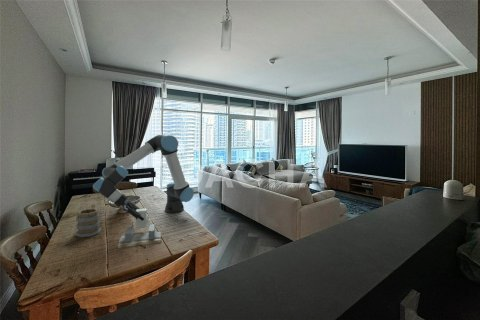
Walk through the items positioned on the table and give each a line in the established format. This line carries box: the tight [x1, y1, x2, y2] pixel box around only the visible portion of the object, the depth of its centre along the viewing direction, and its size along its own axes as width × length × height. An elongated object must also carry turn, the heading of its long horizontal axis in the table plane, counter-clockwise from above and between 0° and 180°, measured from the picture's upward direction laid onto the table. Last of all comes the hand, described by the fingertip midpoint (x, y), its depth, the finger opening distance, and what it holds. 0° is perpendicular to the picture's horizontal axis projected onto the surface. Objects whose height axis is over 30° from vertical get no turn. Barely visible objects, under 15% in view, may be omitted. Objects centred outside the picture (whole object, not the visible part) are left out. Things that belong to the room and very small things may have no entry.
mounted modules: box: [124, 223, 156, 243], centre depth 129 cm, size 15×10×5 cm, turn 109°
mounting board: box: [117, 231, 162, 249], centre depth 129 cm, size 22×12×2 cm, turn 109°
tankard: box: [75, 203, 103, 238], centre depth 141 cm, size 20×13×15 cm, turn 17°
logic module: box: [135, 207, 148, 230], centre depth 141 cm, size 6×5×11 cm
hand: (147, 220), depth 142 cm, fingers closed on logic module, 5 cm apart
